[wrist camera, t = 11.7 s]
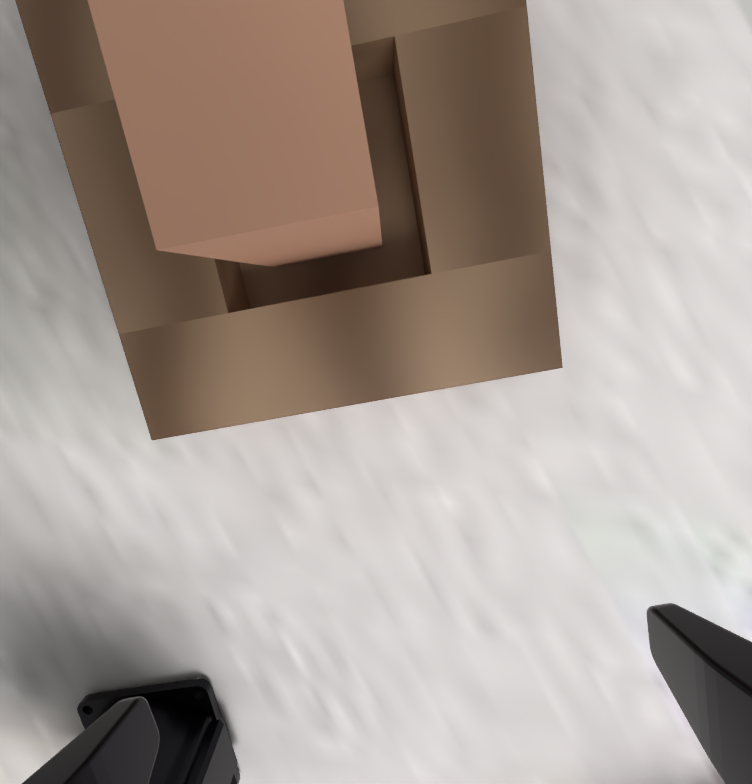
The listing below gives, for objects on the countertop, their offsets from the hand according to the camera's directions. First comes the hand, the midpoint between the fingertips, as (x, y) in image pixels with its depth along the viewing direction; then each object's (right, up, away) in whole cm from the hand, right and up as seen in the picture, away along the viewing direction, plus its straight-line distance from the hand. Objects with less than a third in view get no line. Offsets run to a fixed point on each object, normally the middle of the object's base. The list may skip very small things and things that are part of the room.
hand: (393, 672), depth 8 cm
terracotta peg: (-2, +12, +8) cm, 15 cm away
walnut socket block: (-2, +12, +9) cm, 15 cm away
